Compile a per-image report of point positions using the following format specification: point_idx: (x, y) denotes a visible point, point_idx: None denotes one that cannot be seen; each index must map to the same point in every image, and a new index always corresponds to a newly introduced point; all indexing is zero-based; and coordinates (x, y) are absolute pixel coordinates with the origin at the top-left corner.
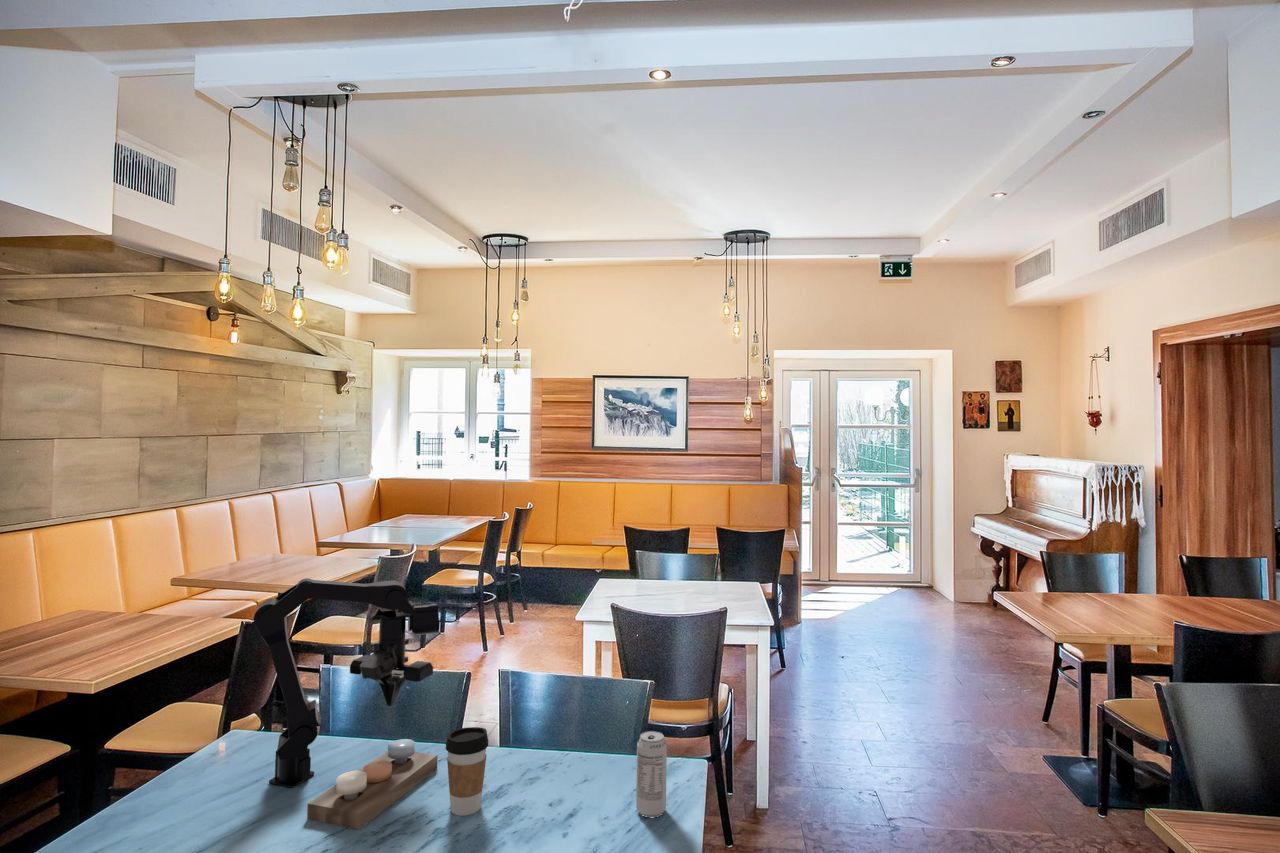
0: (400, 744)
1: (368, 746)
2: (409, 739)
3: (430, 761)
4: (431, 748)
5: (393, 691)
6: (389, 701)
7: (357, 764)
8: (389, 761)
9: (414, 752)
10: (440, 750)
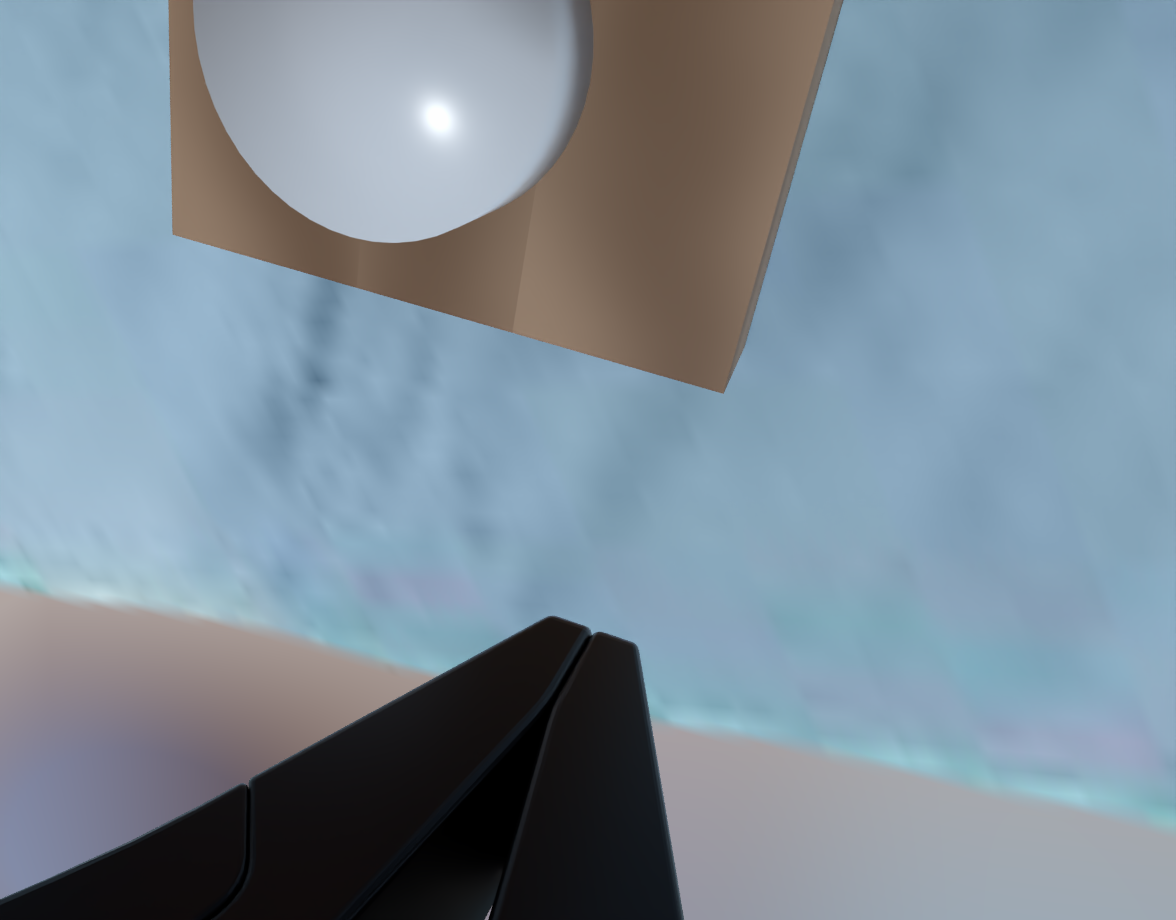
0: (373, 34)
1: (1127, 673)
2: (342, 231)
3: (180, 100)
4: (484, 595)
5: (173, 840)
6: (525, 674)
7: (1124, 252)
8: (594, 3)
9: (419, 281)
10: (396, 556)
